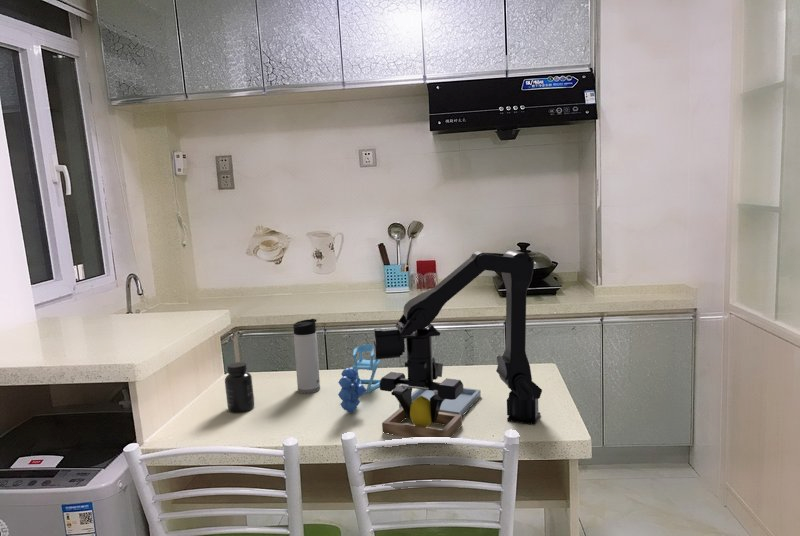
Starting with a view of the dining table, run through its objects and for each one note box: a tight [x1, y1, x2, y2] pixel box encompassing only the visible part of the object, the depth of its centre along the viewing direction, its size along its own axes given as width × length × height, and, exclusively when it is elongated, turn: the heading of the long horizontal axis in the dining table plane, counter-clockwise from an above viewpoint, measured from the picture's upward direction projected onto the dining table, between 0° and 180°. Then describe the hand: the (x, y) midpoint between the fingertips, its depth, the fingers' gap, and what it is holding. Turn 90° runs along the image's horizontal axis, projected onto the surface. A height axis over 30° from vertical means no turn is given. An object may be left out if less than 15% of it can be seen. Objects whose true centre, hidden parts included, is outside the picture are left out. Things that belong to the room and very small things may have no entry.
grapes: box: [337, 366, 367, 414], centre depth 140 cm, size 12×7×12 cm, turn 168°
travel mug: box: [293, 318, 321, 394], centre depth 158 cm, size 6×7×20 cm
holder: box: [381, 407, 463, 438], centre depth 129 cm, size 15×10×2 cm
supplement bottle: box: [224, 361, 255, 414], centre depth 146 cm, size 7×7×12 cm
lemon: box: [410, 396, 433, 428], centre depth 129 cm, size 6×6×8 cm
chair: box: [351, 343, 381, 394], centre depth 158 cm, size 8×8×12 cm
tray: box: [398, 387, 482, 416], centre depth 144 cm, size 16×16×2 cm
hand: (422, 420), depth 129 cm, fingers closed on lemon, 5 cm apart
